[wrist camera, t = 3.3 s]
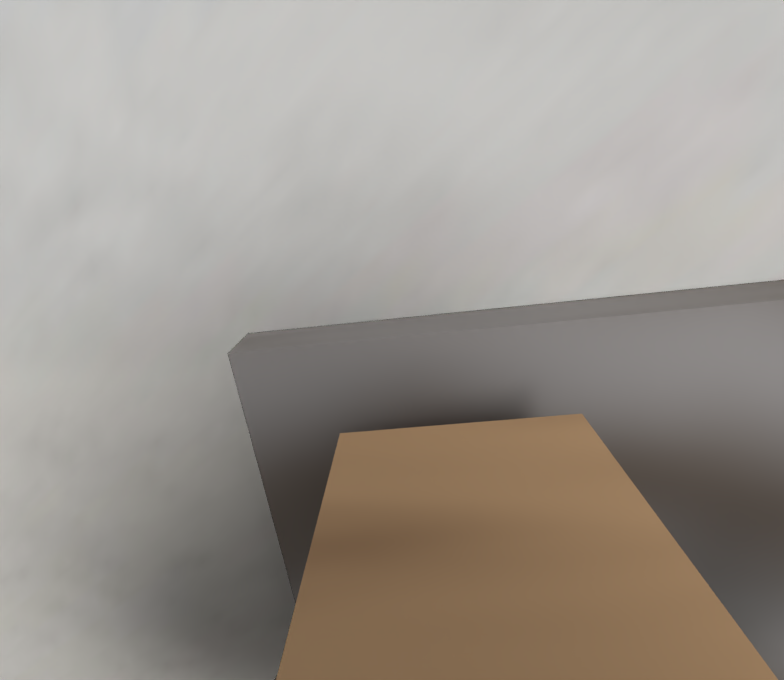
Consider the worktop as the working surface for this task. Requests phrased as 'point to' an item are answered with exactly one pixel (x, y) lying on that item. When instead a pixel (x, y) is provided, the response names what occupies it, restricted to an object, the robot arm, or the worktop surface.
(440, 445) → the walnut brick
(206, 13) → the worktop surface
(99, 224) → the worktop surface
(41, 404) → the worktop surface
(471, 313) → the slate board
